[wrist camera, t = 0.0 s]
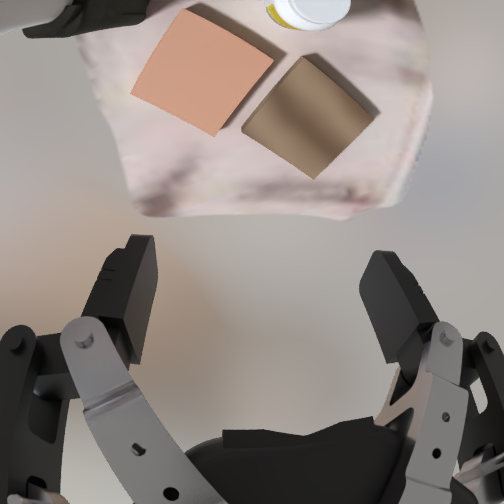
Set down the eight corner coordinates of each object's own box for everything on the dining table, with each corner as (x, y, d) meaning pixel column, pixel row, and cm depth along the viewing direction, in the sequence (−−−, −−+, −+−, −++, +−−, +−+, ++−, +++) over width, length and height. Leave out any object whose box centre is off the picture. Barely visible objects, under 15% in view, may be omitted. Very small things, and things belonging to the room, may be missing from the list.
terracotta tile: (185, 8, 18) (182, 8, 17) (272, 58, 23) (274, 60, 22) (134, 89, 24) (130, 93, 23) (215, 131, 29) (214, 137, 27)
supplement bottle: (320, 32, 21) (357, 40, 14) (263, 27, 20) (275, 29, 14) (323, -15, 17) (363, -27, 10) (265, -21, 16) (279, -42, 10)
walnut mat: (301, 56, 23) (304, 57, 22) (368, 114, 27) (374, 119, 26) (241, 126, 28) (241, 132, 27) (311, 172, 33) (313, 179, 32)
